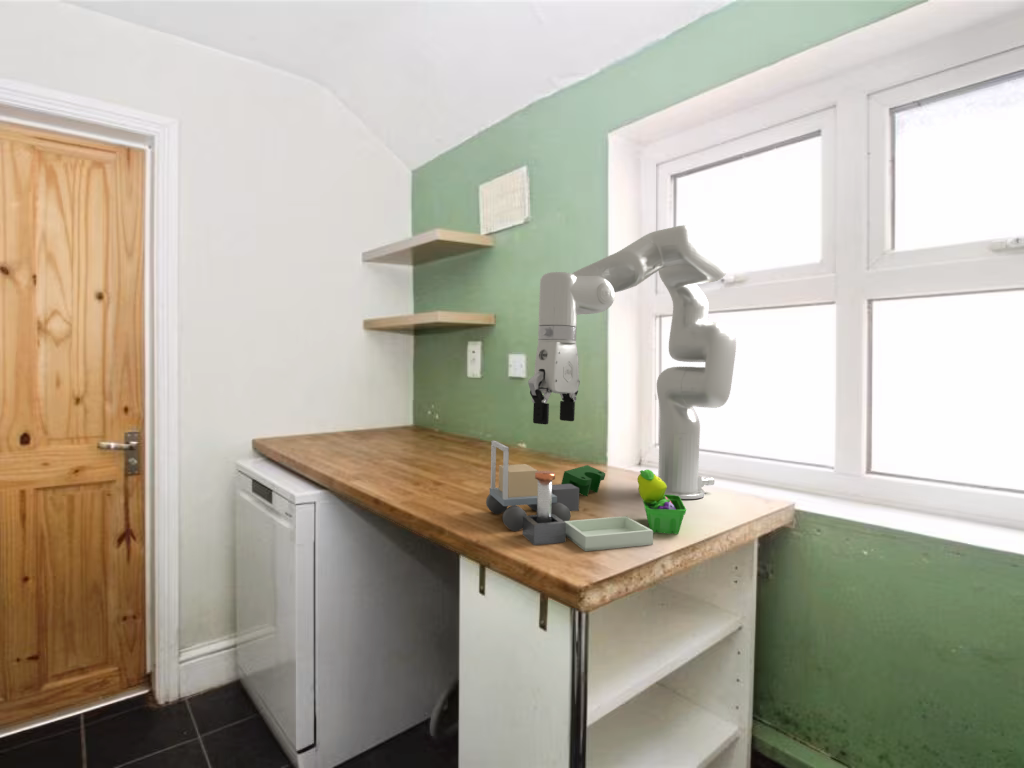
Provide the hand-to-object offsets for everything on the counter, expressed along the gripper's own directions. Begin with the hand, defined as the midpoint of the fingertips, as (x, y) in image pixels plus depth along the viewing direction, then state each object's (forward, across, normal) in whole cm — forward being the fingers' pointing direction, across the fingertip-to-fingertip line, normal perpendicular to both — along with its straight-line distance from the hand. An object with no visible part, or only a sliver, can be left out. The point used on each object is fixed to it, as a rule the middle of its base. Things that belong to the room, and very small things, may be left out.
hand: (554, 422), depth 106 cm
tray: (+20, -2, -13) cm, 24 cm away
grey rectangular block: (+20, +10, +4) cm, 23 cm away
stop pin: (+20, -9, -4) cm, 23 cm away
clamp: (+20, +26, +7) cm, 34 cm away
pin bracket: (+20, -9, -4) cm, 23 cm away
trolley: (+20, -1, +5) cm, 21 cm away
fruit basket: (+20, +12, -18) cm, 29 cm away
